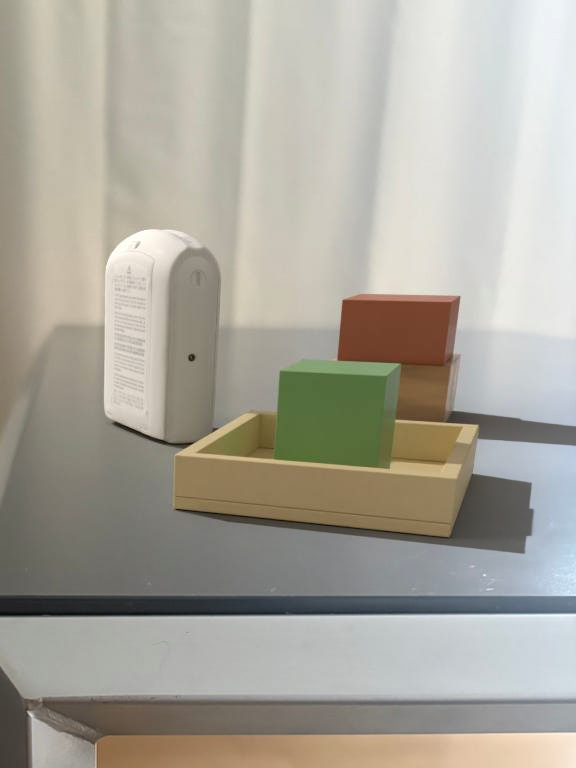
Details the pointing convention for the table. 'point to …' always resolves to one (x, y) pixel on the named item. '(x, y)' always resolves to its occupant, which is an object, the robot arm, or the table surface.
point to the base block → (427, 391)
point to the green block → (337, 412)
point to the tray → (330, 478)
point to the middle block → (398, 328)
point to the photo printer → (162, 335)
